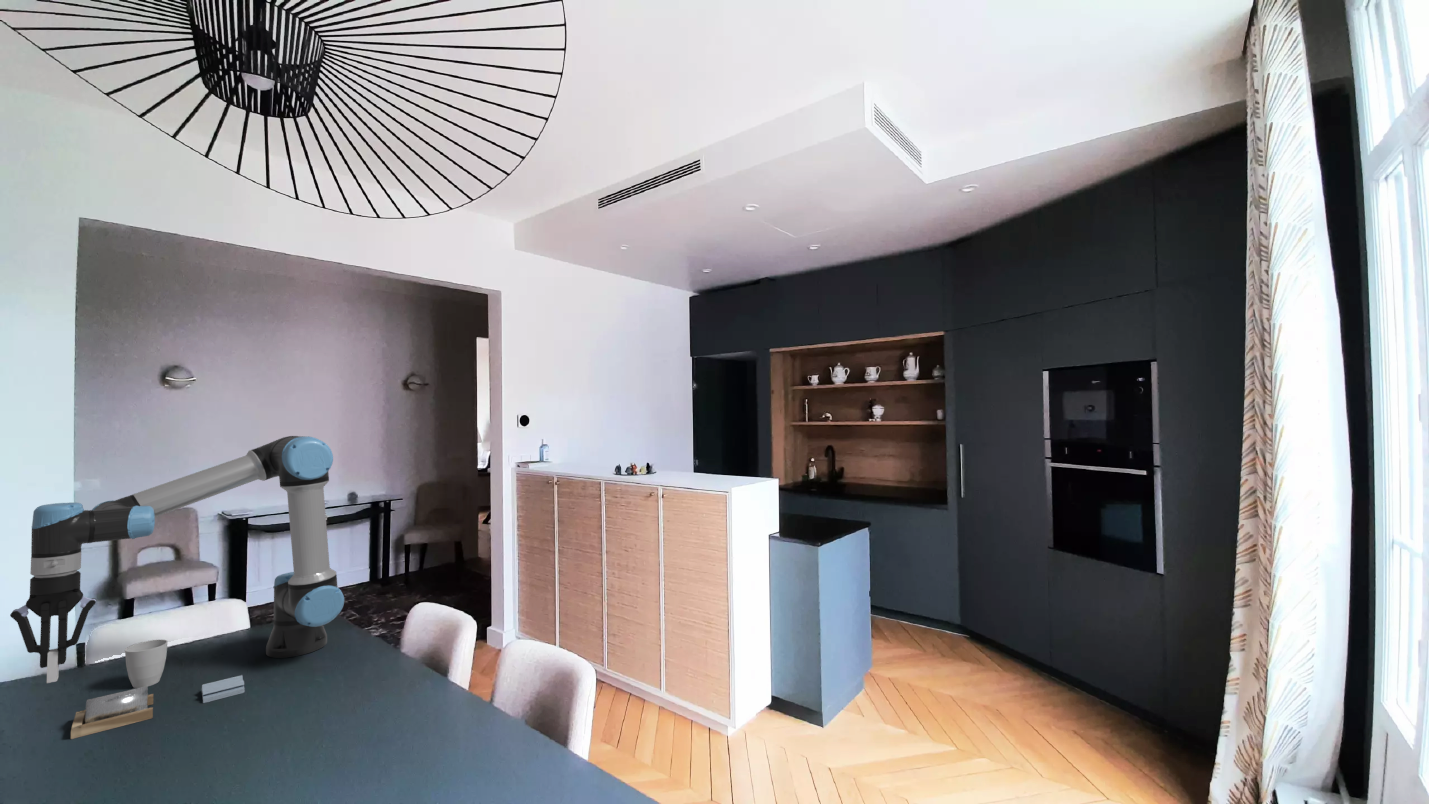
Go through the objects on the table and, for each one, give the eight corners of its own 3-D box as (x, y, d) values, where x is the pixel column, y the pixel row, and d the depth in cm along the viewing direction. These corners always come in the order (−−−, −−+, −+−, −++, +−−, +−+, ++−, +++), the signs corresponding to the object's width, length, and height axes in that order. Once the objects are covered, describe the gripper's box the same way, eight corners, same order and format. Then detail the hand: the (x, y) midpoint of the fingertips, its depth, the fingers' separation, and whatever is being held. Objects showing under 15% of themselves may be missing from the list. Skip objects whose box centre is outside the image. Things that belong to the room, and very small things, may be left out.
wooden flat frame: (76, 720, 137) (76, 712, 137) (153, 701, 146) (153, 693, 146) (70, 739, 129) (70, 730, 129) (152, 718, 138) (152, 709, 138)
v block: (201, 691, 151) (201, 682, 151) (241, 681, 156) (241, 672, 156) (203, 703, 145) (203, 693, 145) (244, 692, 151) (244, 682, 151)
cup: (175, 677, 159) (176, 640, 159) (143, 691, 151) (144, 652, 151) (148, 676, 160) (149, 638, 160) (115, 690, 152) (115, 651, 152)
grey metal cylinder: (85, 732, 132) (85, 705, 132) (87, 722, 136) (88, 695, 137) (146, 716, 139) (147, 691, 139) (147, 707, 143) (147, 682, 143)
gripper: (7, 582, 124) (3, 695, 124) (96, 571, 133) (93, 677, 133) (14, 575, 130) (10, 683, 129) (99, 565, 139) (96, 666, 138)
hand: (52, 680), depth 131 cm, fingers closed
